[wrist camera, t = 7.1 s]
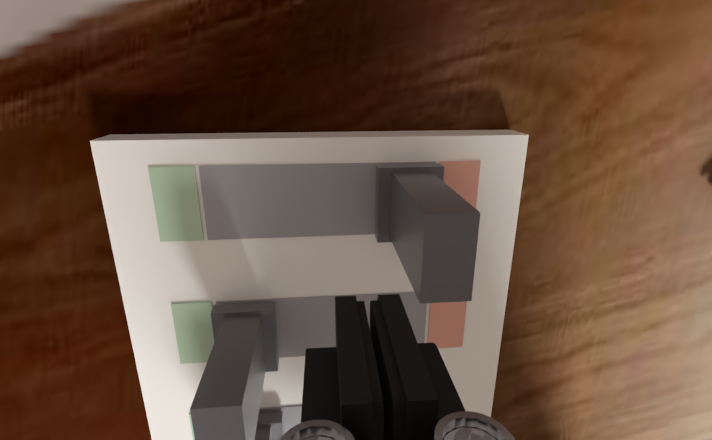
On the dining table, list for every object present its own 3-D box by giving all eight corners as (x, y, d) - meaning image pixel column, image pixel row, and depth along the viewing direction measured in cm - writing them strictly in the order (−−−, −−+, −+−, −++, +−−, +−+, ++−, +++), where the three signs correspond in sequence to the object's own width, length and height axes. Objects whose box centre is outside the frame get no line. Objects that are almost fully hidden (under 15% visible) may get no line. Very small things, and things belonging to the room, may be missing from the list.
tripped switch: (439, 163, 20) (499, 206, 13) (434, 234, 21) (487, 305, 15) (376, 164, 20) (406, 209, 13) (375, 236, 21) (402, 309, 14)
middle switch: (274, 302, 21) (258, 399, 15) (279, 361, 23) (265, 474, 16) (214, 305, 21) (171, 405, 15) (221, 364, 22) (185, 481, 16)
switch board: (510, 129, 22) (529, 135, 20) (474, 427, 29) (486, 453, 27) (110, 134, 20) (88, 141, 18) (170, 451, 27) (159, 481, 25)
